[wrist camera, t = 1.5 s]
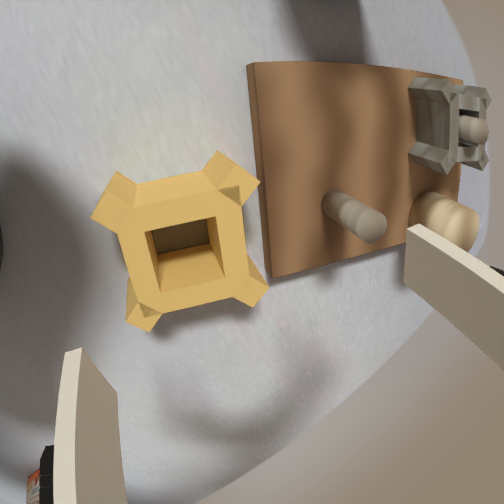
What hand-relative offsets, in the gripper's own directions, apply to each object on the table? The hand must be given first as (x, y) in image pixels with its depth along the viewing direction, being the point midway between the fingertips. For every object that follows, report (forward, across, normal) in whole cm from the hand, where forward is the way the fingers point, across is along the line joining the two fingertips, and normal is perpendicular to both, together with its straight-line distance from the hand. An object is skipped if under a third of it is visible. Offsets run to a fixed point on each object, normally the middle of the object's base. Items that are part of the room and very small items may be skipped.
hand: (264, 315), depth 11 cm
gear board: (+16, +17, -1) cm, 24 cm away
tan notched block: (+16, -2, -2) cm, 16 cm away
